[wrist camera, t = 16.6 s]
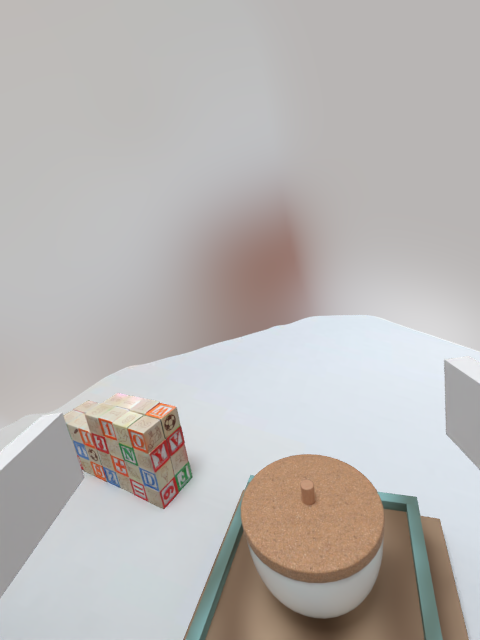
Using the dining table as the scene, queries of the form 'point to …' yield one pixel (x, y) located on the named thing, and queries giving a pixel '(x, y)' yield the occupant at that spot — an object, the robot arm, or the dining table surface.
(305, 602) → the lidded jar
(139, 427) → the stack of blocks
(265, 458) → the dining table surface
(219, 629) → the base
